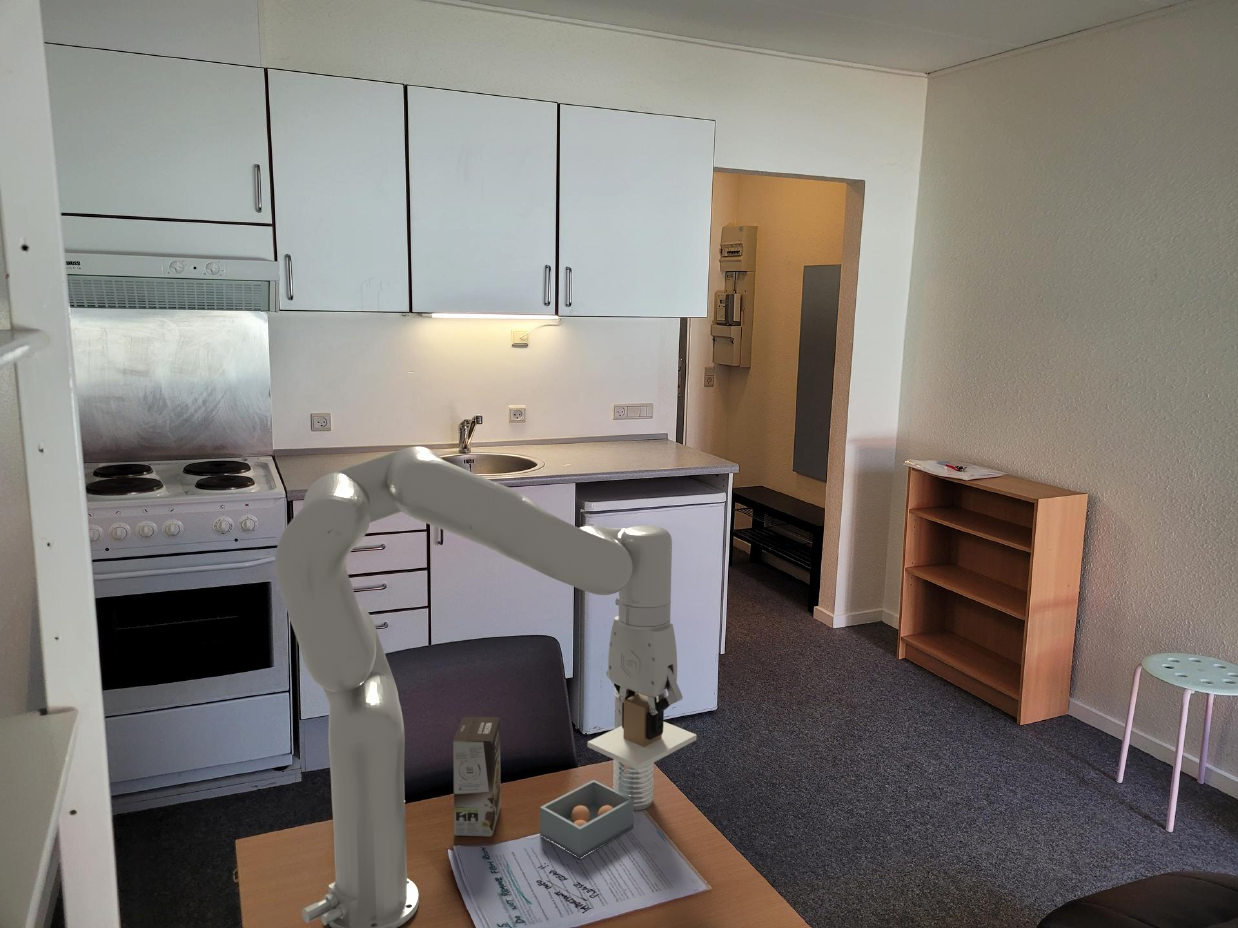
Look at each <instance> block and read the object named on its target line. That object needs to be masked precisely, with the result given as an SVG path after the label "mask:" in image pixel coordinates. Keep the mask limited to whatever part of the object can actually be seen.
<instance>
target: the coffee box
mask: <svg viewBox="0 0 1238 928" xmlns="http://www.w3.org/2000/svg"><path fill="white" fill-rule="evenodd" d="M500 720H501V718H500V716H499V717H497V716H476V717H472V716H471V717H469V716H468V717H467V716H463V717H462V718H461V721H460V723H459V726H458V728H457V730H456V732H455V735H454V737H453V741H452V746H453V747H452V749H453V754H452V755H453V756H452V757H453V761H452V762H453V764H452V765H453V769H452V770H453V818H454V820H453V821H454V822H453V825H454V827H453V835H454V836H467V837H493V835H494V831H495V829H496V825H497V823H498V822H497V821H498V818H499V814H500V812H501V807H502V801H501V800H502V799H501V798H502V797H501V796H502V795H501V787H502V786H501V783H502V782H501V735H500V734H501V724H500V723H501V721H500Z"/></svg>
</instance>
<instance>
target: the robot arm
mask: <svg viewBox="0 0 1238 928" xmlns="http://www.w3.org/2000/svg"><path fill="white" fill-rule="evenodd" d="M399 513H403V514H405V515H406V516H408V517H411V518H413V519H415V520H418V521H420V522H423V523H425V524H428V525H431V526H433V527H436V528H438V529H440V530H443V531H445V532H448V533H451V534H453V535H456V536H458V537H461V538H464V539H466V540H469V541H471V542H474V543H476V544H478V545H481V546H484V547H486V548H488V549H491V550H493V551H495V552H496V553H498V554H500V555H502V556H504V557H505V558H508V559H511V560H512V561H515V562H517V563H520V564H522V565H524V566H526V567H529V568H531V569H532V570H535V571H536V572H539V573H541V574H543V575H545V576H547V577H549V578H551V579H554V580H556V581H558V582H562V583H563V584H566V585H569V586H571V587H573V588H575V589H576V588H577V589H580V590H582V591H585V592H587V593H589V594H592V595H596V596H610V595H614V594H617V593H618V597H616V599H615V601H614V602H615V605H616V606H618V615H617V616H614V620H613V623H612V627H611V632H610V638H609V645H608V654H607V655H608V656H607V657H608V658H607V671H606V672H605V673H606V677H608V679H609V681H611V683H612V684H613V686H614V687H615V688H616V690H617V692H618V694H619V701H620V702H622V703H623V704H622V728H623V729H624V700H625V699H627V698H630V697H632V696H634V695H636V694H637V693H640V694H642V695H645V696H648V703H649V711H650V712H649V713H647V715H646V738H647V739H649V740H651V739H653V738H655V737H657V736H659V735H661V734H662V733H663V725H664V722H665V720H664V719H665V717H664V716H665V715H664V714H665V713H664V712H665V711H666V710H667V709H668V708H669V707H670V706H672V705H674V704H676V703H678V702H681V701H682V700H683V695H682V692H681V689H680V687H679V685H678V682H677V681H678V653H677V652H678V650H677V643H676V642H677V641H676V636H675V629H674V624H672V623H671V605H672V604H671V603H672V601H671V600H672V564H673V563H672V561H673V560H672V556H673V554H672V553H673V540H672V536H671V534H670V532H669V531H668V530H667V529H665V528H662V527H660V526H654V525H634V526H631V527H628V528H627V527H625V528H623V527H611V526H609V527H608V526H600V525H585V526H580V527H577V526H575V525H573V524H571V523H570V522H567V521H565V520H564V519H561V518H559V517H558V516H556V515H554V514H552V513H551V512H549V511H548V510H546V509H544V508H542V506H540V505H539V504H537V503H536V502H535V501H533V499H530V498H529V497H527V496H526V495H525V494H523V493H521V492H519V491H518V490H515V489H513V488H511V487H508V486H506V485H503V484H501V483H498V482H497V481H494V480H490V479H489V478H486V477H483V476H481V475H479V474H476V473H474V472H472V471H470V470H467V469H465V468H463V467H460V466H458V465H455V464H453V463H451V462H449V461H447V460H444V459H442V457H441V456H440V455H439V454H438V453H437V452H435V451H434V450H432V449H430V448H428V447H425V446H410V447H406V448H402V449H399V450H396V451H393V452H392V451H391V452H389V453H386V454H384V455H381V456H378V457H375V458H373V459H369V460H366V461H363V462H360V463H357V464H353V465H350V466H348V467H345V468H341V469H338V470H335V471H332V472H330V473H327V474H325V475H324V476H321V477H319V478H318V479H317V480H314V482H313V483H312V484H311V485H310V487H308V489H307V491H306V493H305V495H304V498H303V503H302V507H301V508H300V510H299V511H298V512H297V514H296V515H295V516H294V517H293V518H292V519H291V520H290V522H289V523H288V525H287V526H286V528H285V529H284V530H283V532H282V534H281V536H280V539H279V541H278V543H277V547H276V551H275V554H274V570H275V571H274V572H275V577H276V581H277V583H278V587H279V591H280V594H281V596H282V599H283V603H284V605H285V608H286V611H287V615H288V618H289V621H290V623H291V626H292V629H293V632H294V636H295V637H296V641H297V643H298V646H299V650H300V651H301V655H302V658H303V663H304V665H305V668H306V671H307V672H308V674H309V676H310V677H311V678H312V679H313V681H314V682H315V683H316V684H317V685H319V686H320V687H321V688H322V690H323V692H324V694H325V697H326V700H327V703H328V706H329V707H328V709H329V710H328V711H329V712H328V753H329V768H330V785H331V786H330V787H331V788H330V789H331V807H332V809H331V810H332V823H333V824H332V826H333V828H332V829H333V844H334V845H333V850H334V851H333V853H334V873H335V875H334V876H335V881H334V882H331V883H329V884H328V893H327V894H325V895H323V897H322V899H321V900H319V901H318V902H313V903H312V904H310V905H307V906H306V907H303V908H302V911H301V915H302V918H303V920H304V922H305V923H306V924H309V923H312V922H313V921H315V920H316V919H319V918H320V920H321V921H320V922H321V924H322V925H323V926H327V925H329V927H331V928H399V927H401V926H402V925H404V924H405V923H406V922H408V921H409V920H410V919H411V918H412V917H413V916H414V915H415V913H416V911H417V910H418V907H419V904H420V893H419V889H418V887H417V885H416V884H415V883H414V882H413V881H412V880H411V879H409V878H408V871H407V870H408V869H407V868H408V866H407V865H408V864H407V863H408V862H407V838H406V837H407V834H406V833H407V832H406V800H405V796H406V795H405V747H406V746H405V744H406V743H405V741H406V740H405V736H406V735H405V726H404V718H403V713H402V706H401V703H400V699H399V698H400V697H399V692H398V689H397V685H396V682H395V679H394V676H393V673H392V670H391V667H390V665H389V662H388V660H387V656H386V654H385V651H384V647H383V645H382V642H381V639H380V636H379V634H378V630H377V628H376V625H375V623H374V621H373V618H372V616H371V614H370V613H369V612H368V610H366V609H365V608H364V607H363V606H362V605H361V604H359V603H358V600H357V597H356V595H355V592H354V591H355V590H354V588H353V587H354V586H353V585H352V581H351V579H350V577H349V573H348V572H347V571H348V570H347V561H348V558H349V555H350V554H351V552H352V551H353V549H355V548H356V546H358V544H359V543H360V542H361V541H362V540H363V538H364V537H365V535H366V534H367V532H368V530H369V527H370V523H374V522H377V521H380V520H382V519H385V518H388V517H391V516H393V515H396V514H399ZM614 687H613V688H614ZM656 698H658V699H659V701H658V702H657V699H656Z"/></svg>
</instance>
